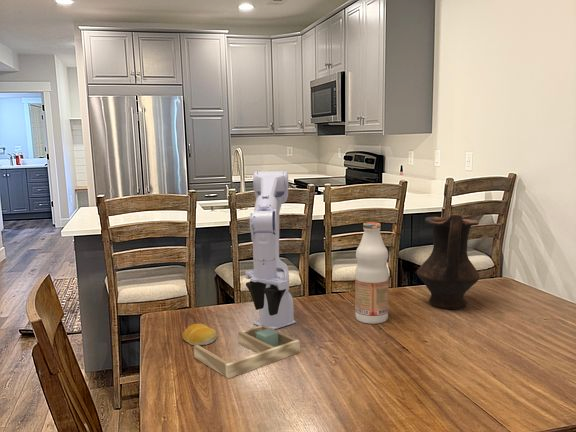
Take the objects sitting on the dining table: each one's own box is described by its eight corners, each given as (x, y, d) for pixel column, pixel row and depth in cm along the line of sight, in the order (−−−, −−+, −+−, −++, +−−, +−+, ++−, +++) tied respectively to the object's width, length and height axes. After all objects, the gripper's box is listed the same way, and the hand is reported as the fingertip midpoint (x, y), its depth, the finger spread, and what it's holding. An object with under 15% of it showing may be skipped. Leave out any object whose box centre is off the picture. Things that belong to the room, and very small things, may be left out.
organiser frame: (263, 335, 140) (263, 324, 140) (299, 352, 129) (299, 340, 128) (194, 357, 127) (193, 345, 127) (228, 378, 116) (227, 365, 115)
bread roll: (196, 349, 132) (195, 334, 132) (178, 339, 139) (177, 325, 139) (223, 340, 138) (222, 326, 137) (205, 331, 145) (204, 317, 144)
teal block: (268, 343, 135) (268, 328, 135) (278, 347, 132) (277, 332, 131) (256, 347, 133) (255, 332, 132) (265, 352, 130) (265, 337, 129)
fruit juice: (354, 323, 148) (354, 226, 143) (356, 312, 157) (356, 220, 153) (388, 325, 146) (389, 226, 142) (388, 314, 155) (388, 220, 151)
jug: (413, 294, 173) (415, 205, 169) (471, 295, 171) (474, 204, 166) (420, 316, 153) (422, 214, 148) (486, 317, 150) (490, 214, 145)
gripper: (234, 256, 132) (236, 308, 134) (269, 266, 121) (271, 322, 123) (257, 252, 136) (258, 302, 138) (293, 261, 125) (294, 315, 127)
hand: (266, 311), depth 131 cm, fingers open, 5 cm apart
